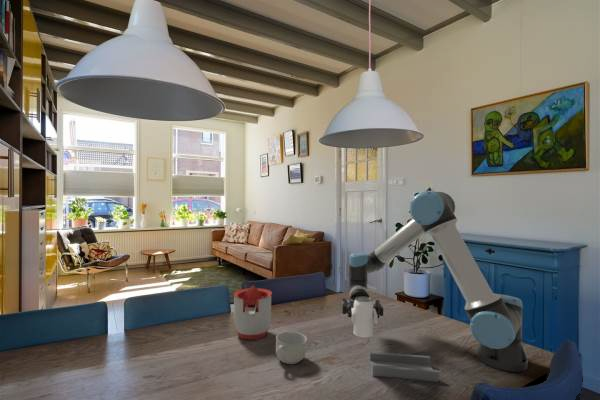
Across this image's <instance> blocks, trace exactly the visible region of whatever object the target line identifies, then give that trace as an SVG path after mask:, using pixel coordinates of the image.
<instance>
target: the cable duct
mask: <svg viewBox="0 0 600 400" xmlns="http://www.w3.org/2000/svg"><path fill="white" fill-rule="evenodd" d="M431 359H432V358H431V356H430V355H417V354H405V353H404V354H403V353H402V354H401V353H391V352H376V351H370V352H369V362H370V369H371V374H372V378H373V377H375V378H387V379H398V380H399V379H401V380H410V381H411V380H412V381H422V382H423V381H424V382H437V383H438V382H439V379H440V377H439V376H440V371H439V370H438V369H433V367H432V365H431V363H432V361H431Z"/></svg>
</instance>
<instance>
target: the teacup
mask: <svg viewBox="0 0 600 400" xmlns="http://www.w3.org/2000/svg"><path fill="white" fill-rule="evenodd" d="M275 339H276V340H275V355H276V357H277V358H278V359H279V360H280V361H281V362H282V363H283V364H286V365H295V364H296V365H297V364H298V363H299V362H300V361H303V359H304V358H305V357H306V352H307V342H308V338H307V336H306V335H304V334H303V333H300V332H297V331H281V332H279V333H278V334H277V335H275Z"/></svg>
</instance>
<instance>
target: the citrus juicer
mask: <svg viewBox="0 0 600 400" xmlns="http://www.w3.org/2000/svg"><path fill="white" fill-rule="evenodd" d="M272 295H273V292H272V291H271V290H270V289H266V288H259V287H256V286H255V285H251V287H249V288H243V289H239V290H236V291H234V292H233V322H234V326H235V330H236V333H237V336H238V337H239V338H241V339H244V340H258V339H259V340H261V339H262V338H264V337H266V336H267V333H268V331H269V327H270V324H271V320H272V319H271V318H272Z"/></svg>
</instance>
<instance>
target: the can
mask: <svg viewBox="0 0 600 400" xmlns="http://www.w3.org/2000/svg"><path fill="white" fill-rule="evenodd" d="M369 297H370V296H369ZM369 297H364V296H360V297H356V298H355V301H354V314H355V320H354V323H353V324H352V326H353V329H352V330H353V331H352V333H353V335H354V336H355V337H357V338H360V339H368V338H369V339H370V338H372V337H373V336H374V319H373V302H374V301H373V299H372V298H371V297H370V298H369Z"/></svg>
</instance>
